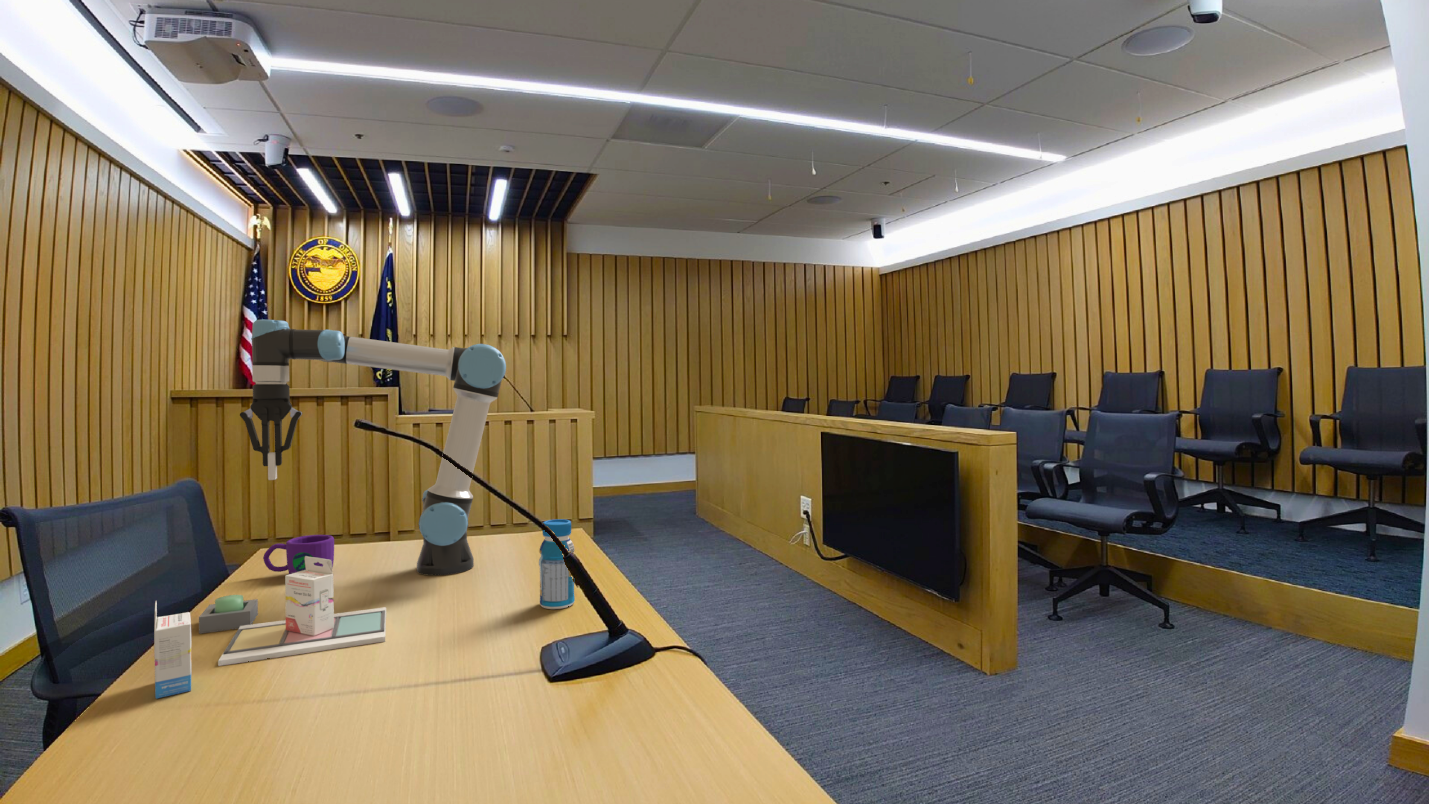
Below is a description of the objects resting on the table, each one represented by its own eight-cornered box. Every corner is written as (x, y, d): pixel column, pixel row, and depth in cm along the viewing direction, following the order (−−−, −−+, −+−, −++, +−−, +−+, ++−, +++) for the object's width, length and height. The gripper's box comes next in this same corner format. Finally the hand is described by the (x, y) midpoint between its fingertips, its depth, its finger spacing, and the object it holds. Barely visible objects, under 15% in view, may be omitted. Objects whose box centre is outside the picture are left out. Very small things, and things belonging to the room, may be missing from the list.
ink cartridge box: (283, 631, 139) (282, 560, 138) (306, 623, 143) (305, 555, 143) (313, 636, 136) (312, 564, 135) (335, 628, 140) (334, 559, 140)
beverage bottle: (549, 612, 154) (549, 526, 154) (532, 603, 160) (532, 521, 160) (581, 605, 160) (581, 522, 159) (564, 596, 166) (564, 516, 165)
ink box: (192, 691, 114) (191, 606, 114) (154, 700, 111) (153, 612, 111) (191, 674, 121) (190, 594, 121) (155, 682, 118) (153, 599, 117)
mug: (340, 568, 191) (339, 533, 191) (326, 579, 180) (325, 542, 180) (272, 571, 188) (272, 536, 187) (254, 583, 177) (253, 545, 176)
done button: (245, 614, 150) (245, 593, 150) (241, 621, 146) (240, 600, 145) (218, 618, 148) (218, 596, 148) (212, 625, 143) (212, 603, 143)
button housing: (257, 614, 153) (257, 599, 153) (250, 627, 145) (250, 611, 145) (209, 620, 149) (209, 604, 149) (199, 633, 141) (198, 617, 141)
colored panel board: (386, 611, 155) (386, 605, 155) (385, 641, 137) (385, 635, 137) (240, 630, 143) (240, 624, 143) (218, 666, 125) (218, 659, 125)
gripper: (304, 383, 170) (305, 475, 170) (242, 383, 164) (243, 478, 164) (300, 383, 163) (301, 479, 163) (235, 383, 157) (237, 482, 158)
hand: (272, 479), depth 164 cm, fingers closed
